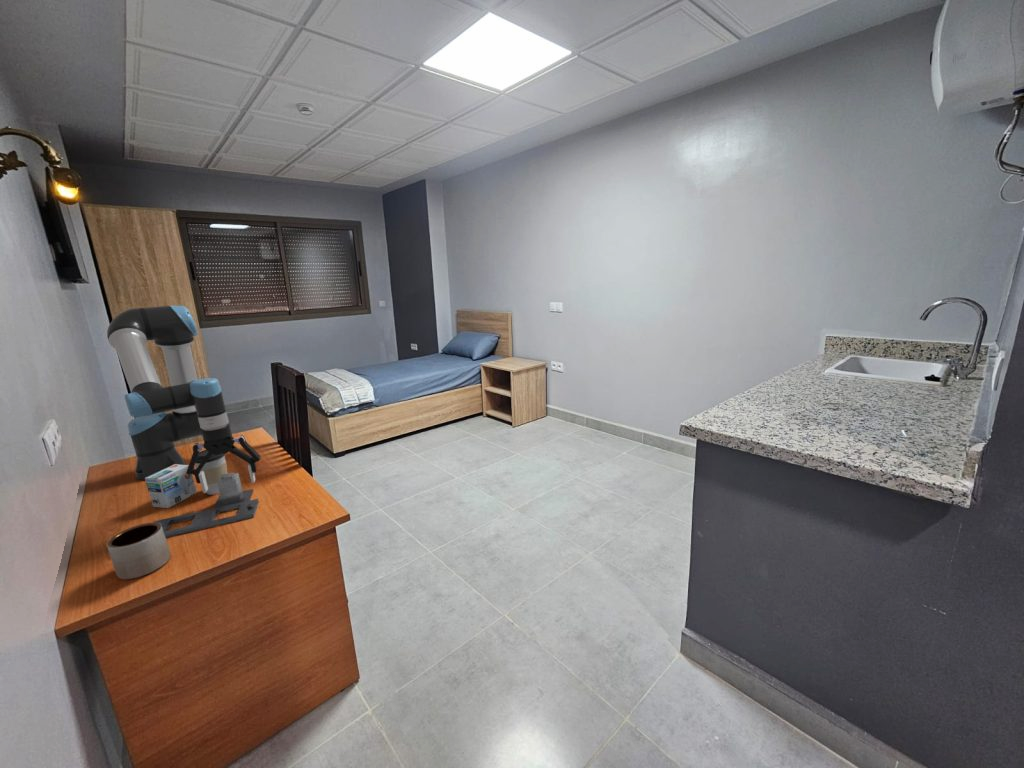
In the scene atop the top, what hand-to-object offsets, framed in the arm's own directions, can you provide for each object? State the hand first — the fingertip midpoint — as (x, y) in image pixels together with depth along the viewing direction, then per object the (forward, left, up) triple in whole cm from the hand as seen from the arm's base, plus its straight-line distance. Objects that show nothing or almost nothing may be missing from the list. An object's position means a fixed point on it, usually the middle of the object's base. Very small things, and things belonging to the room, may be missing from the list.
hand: (230, 486), depth 137 cm
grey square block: (0, 0, -5) cm, 5 cm away
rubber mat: (0, 0, -5) cm, 5 cm away
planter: (+28, -15, -6) cm, 32 cm away
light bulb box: (-11, -19, -6) cm, 23 cm away
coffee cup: (-12, -7, -6) cm, 15 cm away
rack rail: (+10, -6, -5) cm, 13 cm away
